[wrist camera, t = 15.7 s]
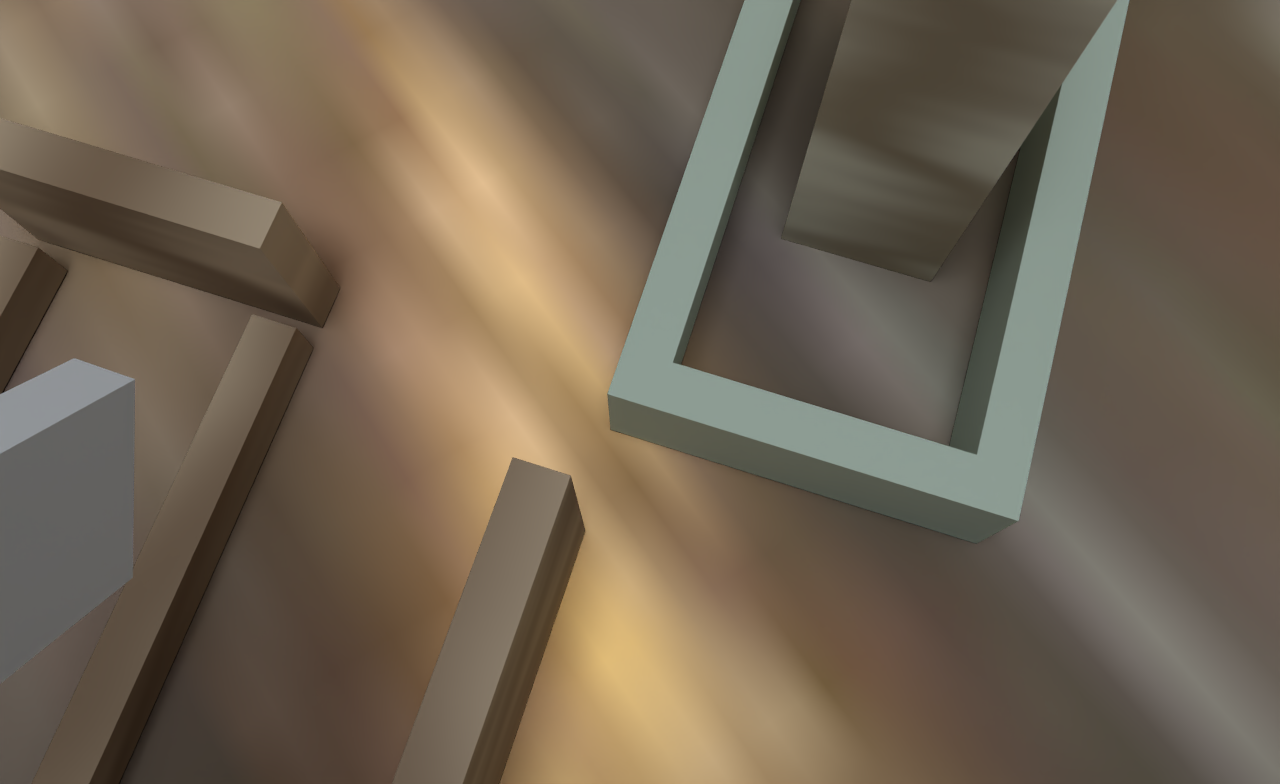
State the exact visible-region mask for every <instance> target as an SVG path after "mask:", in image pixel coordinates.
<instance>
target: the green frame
mask: <svg viewBox="0 0 1280 784" xmlns="http://www.w3.org/2000/svg"><path fill="white" fill-rule="evenodd" d="M800 1H801V0H745V1H744V4H743V7H742V10H741V12H740V15H739V18H738V21H737V24H736V27H735V30H734V32H733V35H732V38H731V41H730V44H729V47H728V50H727V53H726V55H725V58H724V61H723V64H722V67H721V70H720V73H719V76H718V78H717V81H716V84H715V87H714V90H713V93H712V96H711V98H710V101H709V104H708V107H707V110H706V113H705V116H704V119H703V121H702V124H701V127H700V130H699V133H698V136H697V139H696V142H695V144H694V147H693V150H692V153H691V156H690V159H689V162H688V164H687V167H686V170H685V173H684V176H683V179H682V182H681V185H680V187H679V190H678V193H677V196H676V199H675V202H674V205H673V207H672V210H671V213H670V216H669V219H668V222H667V225H666V228H665V230H664V233H663V236H662V239H661V242H660V245H659V248H658V251H657V253H656V256H655V259H654V262H653V265H652V268H651V271H650V273H649V276H648V279H647V282H646V285H645V288H644V291H643V294H642V296H641V299H640V302H639V305H638V308H637V311H636V314H635V316H634V319H633V322H632V325H631V328H630V331H629V334H628V337H627V339H626V342H625V345H624V348H623V351H622V354H621V357H620V360H619V362H618V365H617V368H616V371H615V374H614V377H613V380H612V382H611V385H610V388H609V391H608V394H607V395H608V406H609V417H610V428H611V430H614V431H617V432H620V433H623V434H626V435H630V436H633V437H636V438H639V439H642V440H646V441H649V442H652V443H655V444H658V445H662V446H665V447H668V448H671V449H674V450H678V451H681V452H684V453H687V454H690V455H694V456H697V457H700V458H703V459H707V460H710V461H713V462H716V463H719V464H723V465H726V466H729V467H732V468H735V469H739V470H742V471H745V472H748V473H751V474H755V475H758V476H761V477H764V478H767V479H771V480H774V481H777V482H780V483H783V484H787V485H790V486H793V487H796V488H799V489H803V490H806V491H809V492H812V493H816V494H819V495H822V496H825V497H828V498H832V499H835V500H838V501H841V502H844V503H848V504H851V505H854V506H857V507H860V508H864V509H867V510H870V511H873V512H876V513H880V514H883V515H886V516H889V517H892V518H896V519H899V520H902V521H905V522H908V523H912V524H915V525H918V526H921V527H925V528H928V529H931V530H934V531H937V532H941V533H944V534H947V535H950V536H953V537H957V538H960V539H963V540H966V541H969V542H973V543H976V544H977V543H979V542H981V541H982V540H984V539H986V538H988V537H990V536H992V535H994V534H995V533H997V532H999V531H1001V530H1003V529H1005V528H1007V527H1008V526H1010V525H1012V524H1014V523H1016V522H1018V521H1019V517H1020V512H1021V507H1022V503H1023V498H1024V493H1025V488H1026V484H1027V479H1028V474H1029V470H1030V465H1031V460H1032V455H1033V451H1034V446H1035V441H1036V437H1037V432H1038V427H1039V423H1040V418H1041V413H1042V408H1043V404H1044V399H1045V394H1046V390H1047V385H1048V380H1049V376H1050V371H1051V366H1052V361H1053V357H1054V352H1055V347H1056V343H1057V338H1058V333H1059V328H1060V324H1061V319H1062V314H1063V310H1064V305H1065V300H1066V296H1067V291H1068V286H1069V281H1070V277H1071V272H1072V267H1073V263H1074V258H1075V253H1076V249H1077V244H1078V239H1079V234H1080V230H1081V225H1082V220H1083V216H1084V211H1085V206H1086V201H1087V197H1088V192H1089V187H1090V183H1091V178H1092V173H1093V169H1094V164H1095V159H1096V154H1097V150H1098V145H1099V140H1100V136H1101V131H1102V126H1103V122H1104V117H1105V112H1106V107H1107V103H1108V98H1109V93H1110V89H1111V84H1112V79H1113V74H1114V70H1115V65H1116V60H1117V56H1118V51H1119V46H1120V42H1121V37H1122V32H1123V27H1124V23H1125V18H1126V13H1127V9H1128V4H1129V0H1117V1H1116V3H1115V4H1114V6H1113V7H1112V9H1111V10H1110V12H1109V13H1108V15H1107V16H1106V18H1105V19H1104V21H1103V22H1102V24H1101V26H1100V27H1099V29H1098V30H1097V32H1096V33H1095V35H1094V36H1093V38H1092V39H1091V41H1090V42H1089V44H1088V45H1087V47H1086V48H1085V50H1084V51H1083V53H1082V54H1081V56H1080V57H1079V59H1078V60H1077V62H1076V63H1075V65H1074V66H1073V68H1072V69H1071V71H1070V72H1069V74H1068V75H1067V77H1066V78H1065V80H1064V81H1063V83H1062V84H1061V86H1060V87H1059V89H1058V90H1057V92H1056V93H1055V95H1054V96H1053V98H1052V99H1051V101H1050V103H1049V104H1048V106H1047V107H1046V109H1045V110H1044V112H1043V113H1042V115H1041V116H1040V118H1039V119H1038V121H1037V122H1036V124H1035V125H1034V127H1033V128H1032V130H1031V131H1030V133H1029V134H1028V136H1027V137H1026V139H1025V140H1024V142H1023V143H1022V145H1021V147H1020V151H1019V156H1018V160H1017V164H1016V168H1015V172H1014V177H1013V181H1012V185H1011V189H1010V193H1009V198H1008V202H1007V206H1006V210H1005V214H1004V219H1003V223H1002V227H1001V231H1000V235H999V239H998V244H997V248H996V252H995V256H994V260H993V265H992V269H991V273H990V277H989V281H988V286H987V290H986V294H985V298H984V302H983V307H982V311H981V315H980V319H979V323H978V327H977V332H976V336H975V340H974V344H973V348H972V353H971V357H970V361H969V365H968V369H967V374H966V378H965V382H964V386H963V390H962V394H961V399H960V403H959V407H958V411H957V415H956V420H955V424H954V428H953V432H952V436H951V441H950V445H949V446H946V445H943V444H939V443H936V442H933V441H930V440H926V439H923V438H920V437H916V436H913V435H910V434H907V433H903V432H900V431H897V430H893V429H890V428H887V427H884V426H880V425H877V424H874V423H870V422H867V421H864V420H860V419H857V418H854V417H851V416H847V415H844V414H841V413H837V412H834V411H831V410H828V409H824V408H821V407H818V406H814V405H811V404H808V403H805V402H801V401H798V400H795V399H791V398H788V397H785V396H782V395H778V394H775V393H772V392H768V391H765V390H762V389H759V388H755V387H752V386H749V385H745V384H742V383H739V382H735V381H732V380H729V379H726V378H722V377H719V376H716V375H712V374H709V373H706V372H703V371H699V370H696V369H693V368H689V367H686V366H683V365H681V363H682V360H683V357H684V354H685V351H686V348H687V345H688V342H689V339H690V336H691V333H692V329H693V326H694V323H695V320H696V317H697V314H698V311H699V308H700V305H701V302H702V299H703V296H704V293H705V290H706V287H707V284H708V281H709V278H710V275H711V272H712V269H713V266H714V263H715V260H716V256H717V253H718V250H719V247H720V244H721V241H722V238H723V235H724V232H725V229H726V226H727V223H728V220H729V217H730V214H731V211H732V208H733V205H734V202H735V199H736V196H737V193H738V190H739V187H740V183H741V180H742V177H743V174H744V171H745V168H746V165H747V162H748V159H749V156H750V153H751V150H752V147H753V144H754V141H755V138H756V135H757V132H758V129H759V126H760V123H761V120H762V117H763V114H764V110H765V107H766V104H767V101H768V98H769V95H770V92H771V89H772V86H773V83H774V80H775V77H776V74H777V71H778V68H779V65H780V62H781V59H782V56H783V53H784V50H785V47H786V44H787V41H788V37H789V34H790V31H791V28H792V25H793V22H794V19H795V16H796V13H797V10H798V7H799V4H800Z"/></svg>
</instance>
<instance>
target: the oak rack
mask: <svg viewBox="0 0 1280 784" xmlns="http://www.w3.org/2000/svg"><path fill="white" fill-rule="evenodd" d="M0 209H1V210H3V211H4V212H5V213H6V214H8V215H9V216H10V217H11V218H12V219H14V220H15V221H16V222H17V223H19V224H20V225H21V226H22V227H23V228H25V229H26V230H27V231H28V232H30V233H31V234H32V235H33V236H35V237H36V238H37V239H39V240H42V241H45V242H48V243H51V244H55V245H58V246H61V247H64V248H67V249H71V250H74V251H77V252H80V253H84V254H87V255H90V256H93V257H96V258H100V259H103V260H106V261H109V262H113V263H116V264H119V265H122V266H125V267H129V268H132V269H135V270H138V271H141V272H145V273H148V274H151V275H154V276H158V277H161V278H164V279H167V280H170V281H174V282H177V283H180V284H183V285H187V286H190V287H193V288H196V289H199V290H203V291H206V292H209V293H212V294H215V295H219V296H222V297H225V298H228V299H232V300H235V301H238V302H241V303H244V304H248V305H251V306H254V307H257V308H261V309H264V310H267V311H270V312H273V313H277V314H280V315H283V316H286V317H289V318H293V319H296V320H299V321H302V322H306V323H309V324H312V325H315V326H318V327H323V325H324V323H325V320H326V318H327V316H328V314H329V312H330V309H331V307H332V305H333V303H334V300H335V298H336V296H337V294H338V291H339V289H340V287H339V286H338V284H337V283H336V282H335V280H334V279H333V277H332V276H331V274H330V273H329V271H328V270H327V268H326V267H325V265H324V264H323V262H322V261H321V259H320V258H319V256H318V255H317V254H316V252H315V251H314V249H313V248H312V246H311V245H310V243H309V242H308V240H307V239H306V237H305V236H304V234H303V233H302V231H301V230H300V228H299V227H298V225H297V224H296V223H295V221H294V220H293V218H292V217H291V215H290V214H289V212H288V211H287V209H286V208H285V206H284V205H283V203H282V202H279V201H275V200H272V199H269V198H265V197H262V196H259V195H255V194H252V193H249V192H245V191H242V190H239V189H235V188H232V187H229V186H225V185H222V184H219V183H215V182H212V181H209V180H205V179H202V178H199V177H195V176H192V175H189V174H185V173H182V172H179V171H175V170H172V169H169V168H165V167H162V166H159V165H155V164H152V163H149V162H145V161H142V160H139V159H135V158H132V157H129V156H125V155H122V154H119V153H115V152H112V151H109V150H105V149H102V148H99V147H95V146H92V145H89V144H85V143H82V142H79V141H75V140H72V139H69V138H65V137H62V136H59V135H55V134H52V133H49V132H45V131H42V130H39V129H35V128H32V127H29V126H25V125H22V124H19V123H15V122H12V121H9V120H5V119H2V118H0ZM66 273H67V270H66V269H64V268H63V267H62V266H61V265H59V264H58V263H57V262H56V261H54V260H53V259H52V258H51V257H49V256H48V255H47V254H46V253H44V252H43V251H42V250H41V249H39V248H38V247H35V246H32V245H28V244H25V243H22V242H19V241H16V240H12V239H9V238H6V237H3V236H0V394H2V392H3V390H4V388H5V386H6V384H7V383H8V381H9V379H10V377H11V375H12V373H13V371H14V370H15V368H16V366H17V364H18V362H19V360H20V358H21V356H22V355H23V353H24V351H25V349H26V347H27V345H28V343H29V342H30V340H31V338H32V336H33V334H34V332H35V330H36V329H37V327H38V325H39V323H40V321H41V319H42V317H43V315H44V314H45V312H46V310H47V308H48V306H49V304H50V302H51V301H52V299H53V297H54V295H55V293H56V291H57V289H58V288H59V286H60V284H61V282H62V280H63V278H64V276H65V274H66ZM312 350H313V347H312V346H311V345H310V343H309V342H308V341H307V340H306V339H305V338H304V336H303V335H302V334H301V333H300V332H299V331H298V329H297V328H295V327H292V326H288V325H285V324H282V323H279V322H276V321H272V320H269V319H266V318H263V317H259V316H256V315H253V314H252V316H251V318H250V320H249V322H248V325H247V327H246V329H245V331H244V333H243V335H242V337H241V339H240V342H239V344H238V346H237V348H236V350H235V352H234V354H233V356H232V359H231V361H230V363H229V365H228V367H227V369H226V371H225V373H224V376H223V378H222V380H221V382H220V384H219V386H218V388H217V390H216V393H215V395H214V397H213V399H212V401H211V403H210V405H209V407H208V410H207V412H206V414H205V416H204V418H203V420H202V422H201V424H200V427H199V429H198V431H197V433H196V435H195V437H194V439H193V441H192V444H191V446H190V448H189V450H188V452H187V454H186V456H185V458H184V461H183V463H182V465H181V467H180V469H179V471H178V473H177V475H176V478H175V480H174V482H173V484H172V486H171V488H170V490H169V492H168V495H167V497H166V499H165V501H164V503H163V505H162V507H161V509H160V512H159V514H158V516H157V518H156V520H155V522H154V524H153V526H152V529H151V531H150V533H149V535H148V537H147V539H146V541H145V543H144V546H143V548H142V550H141V552H140V554H139V556H138V558H137V560H136V563H135V565H134V567H133V578H132V579H130V580H129V581H128V582H127V583H126V584H125V586H124V588H123V590H122V592H121V594H120V597H119V599H118V601H117V603H116V605H115V607H114V609H113V611H112V614H111V616H110V618H109V620H108V622H107V624H106V626H105V628H104V631H103V633H102V635H101V637H100V639H99V641H98V643H97V645H96V648H95V650H94V652H93V654H92V656H91V658H90V660H89V662H88V665H87V667H86V669H85V671H84V673H83V675H82V677H81V679H80V682H79V684H78V686H77V688H76V690H75V692H74V694H73V696H72V699H71V701H70V703H69V705H68V707H67V709H66V711H65V713H64V716H63V718H62V720H61V722H60V724H59V726H58V728H57V730H56V733H55V735H54V737H53V739H52V741H51V743H50V745H49V747H48V750H47V752H46V754H45V756H44V758H43V760H42V762H41V764H40V767H39V769H38V771H37V773H36V775H35V777H34V779H33V781H32V784H119V782H120V780H121V778H122V775H123V773H124V771H125V769H126V766H127V764H128V762H129V760H130V757H131V755H132V753H133V751H134V748H135V746H136V744H137V742H138V739H139V737H140V735H141V733H142V731H143V728H144V726H145V724H146V722H147V719H148V717H149V715H150V713H151V710H152V708H153V706H154V704H155V701H156V699H157V697H158V695H159V692H160V690H161V688H162V686H163V683H164V681H165V679H166V677H167V674H168V672H169V670H170V668H171V666H172V663H173V661H174V659H175V657H176V654H177V652H178V650H179V648H180V645H181V643H182V641H183V639H184V636H185V634H186V632H187V630H188V627H189V625H190V623H191V621H192V618H193V616H194V614H195V612H196V610H197V607H198V605H199V603H200V601H201V598H202V596H203V594H204V592H205V589H206V587H207V585H208V583H209V580H210V578H211V576H212V574H213V571H214V569H215V567H216V565H217V562H218V560H219V558H220V556H221V554H222V551H223V549H224V547H225V545H226V542H227V540H228V538H229V536H230V533H231V531H232V529H233V527H234V524H235V522H236V520H237V518H238V515H239V513H240V511H241V509H242V506H243V504H244V502H245V500H246V497H247V495H248V493H249V491H250V489H251V486H252V484H253V482H254V480H255V477H256V475H257V473H258V471H259V468H260V466H261V464H262V462H263V459H264V457H265V455H266V453H267V450H268V448H269V446H270V444H271V441H272V439H273V437H274V435H275V433H276V430H277V428H278V426H279V424H280V421H281V419H282V417H283V415H284V412H285V410H286V408H287V406H288V403H289V401H290V399H291V397H292V394H293V392H294V390H295V388H296V385H297V383H298V381H299V379H300V376H301V374H302V372H303V370H304V368H305V365H306V363H307V361H308V359H309V356H310V354H311V352H312ZM584 533H585V528H584V524H583V520H582V516H581V513H580V509H579V505H578V501H577V497H576V494H575V490H574V486H573V482H572V479H571V476H570V475H567V474H564V473H561V472H558V471H554V470H551V469H548V468H545V467H542V466H539V465H536V464H532V463H529V462H526V461H523V460H520V459H517V458H512V461H511V463H510V466H509V469H508V472H507V474H506V477H505V480H504V482H503V485H502V488H501V490H500V493H499V496H498V499H497V501H496V504H495V507H494V509H493V512H492V515H491V517H490V520H489V523H488V526H487V528H486V531H485V534H484V536H483V539H482V542H481V544H480V547H479V550H478V552H477V555H476V558H475V561H474V563H473V566H472V569H471V571H470V574H469V577H468V579H467V582H466V585H465V588H464V590H463V593H462V596H461V598H460V601H459V604H458V606H457V609H456V612H455V615H454V617H453V620H452V623H451V625H450V628H449V631H448V633H447V636H446V639H445V642H444V644H443V647H442V650H441V652H440V655H439V658H438V660H437V663H436V666H435V668H434V671H433V674H432V677H431V679H430V682H429V685H428V687H427V690H426V693H425V695H424V698H423V701H422V704H421V706H420V709H419V712H418V714H417V717H416V720H415V722H414V725H413V728H412V731H411V733H410V736H409V739H408V741H407V744H406V747H405V749H404V752H403V755H402V757H401V760H400V763H399V766H398V768H397V771H396V774H395V776H394V779H393V782H392V784H499V783H500V780H501V777H502V774H503V771H504V768H505V765H506V762H507V759H508V756H509V753H510V750H511V747H512V745H513V742H514V739H515V736H516V733H517V730H518V727H519V724H520V721H521V718H522V715H523V712H524V709H525V706H526V703H527V701H528V698H529V695H530V692H531V689H532V686H533V683H534V680H535V677H536V674H537V671H538V668H539V665H540V662H541V660H542V657H543V654H544V651H545V648H546V645H547V642H548V639H549V636H550V633H551V630H552V627H553V624H554V621H555V618H556V616H557V613H558V610H559V607H560V604H561V601H562V598H563V595H564V592H565V589H566V586H567V583H568V580H569V577H570V574H571V572H572V569H573V566H574V563H575V560H576V557H577V554H578V551H579V548H580V545H581V542H582V539H583V536H584Z"/></svg>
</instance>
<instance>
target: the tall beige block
mask: <svg viewBox="0 0 1280 784" xmlns="http://www.w3.org/2000/svg"><path fill="white" fill-rule="evenodd" d="M1116 1H1117V0H851V4H850V7H849V10H848V14H847V17H846V21H845V24H844V27H843V31H842V34H841V37H840V41H839V44H838V48H837V51H836V54H835V58H834V61H833V65H832V68H831V71H830V75H829V78H828V81H827V85H826V88H825V92H824V95H823V98H822V102H821V105H820V108H819V112H818V115H817V119H816V122H815V125H814V129H813V132H812V135H811V139H810V142H809V146H808V149H807V152H806V156H805V159H804V162H803V166H802V169H801V173H800V176H799V179H798V183H797V186H796V190H795V193H794V196H793V200H792V203H791V206H790V210H789V213H788V217H787V220H786V223H785V227H784V230H783V233H782V237H781V239H784V240H787V241H791V242H794V243H798V244H801V245H805V246H808V247H812V248H815V249H819V250H822V251H825V252H829V253H832V254H836V255H839V256H843V257H846V258H850V259H853V260H857V261H860V262H863V263H867V264H870V265H874V266H877V267H881V268H884V269H888V270H891V271H895V272H898V273H902V274H905V275H908V276H912V277H915V278H919V279H922V280H926V281H929V282H931V281H932V279H933V278H934V276H935V275H936V273H937V272H938V270H939V269H940V267H941V266H942V264H943V263H944V261H945V260H946V258H947V257H948V255H949V254H950V252H951V251H952V249H953V247H954V246H955V244H956V243H957V241H958V240H959V238H960V237H961V235H962V234H963V232H964V231H965V229H966V228H967V226H968V225H969V223H970V222H971V220H972V219H973V217H974V216H975V214H976V213H977V211H978V210H979V208H980V207H981V205H982V204H983V202H984V201H985V199H986V198H987V196H988V195H989V193H990V192H991V190H992V189H993V187H994V186H995V184H996V183H997V181H998V180H999V178H1000V177H1001V175H1002V173H1003V172H1004V170H1005V169H1006V167H1007V166H1008V164H1009V163H1010V161H1011V160H1012V158H1013V157H1014V155H1015V154H1016V152H1017V151H1018V149H1019V148H1020V146H1021V145H1022V143H1023V142H1024V140H1025V139H1026V137H1027V136H1028V134H1029V133H1030V131H1031V130H1032V128H1033V127H1034V125H1035V124H1036V122H1037V121H1038V119H1039V118H1040V116H1041V115H1042V113H1043V112H1044V110H1045V109H1046V107H1047V106H1048V104H1049V103H1050V101H1051V99H1052V98H1053V96H1054V95H1055V93H1056V92H1057V90H1058V89H1059V87H1060V86H1061V84H1062V83H1063V81H1064V80H1065V78H1066V77H1067V75H1068V74H1069V72H1070V71H1071V69H1072V68H1073V66H1074V65H1075V63H1076V62H1077V60H1078V59H1079V57H1080V56H1081V54H1082V53H1083V51H1084V50H1085V48H1086V47H1087V45H1088V44H1089V42H1090V41H1091V39H1092V38H1093V36H1094V35H1095V33H1096V32H1097V30H1098V29H1099V27H1100V26H1101V24H1102V22H1103V21H1104V19H1105V18H1106V16H1107V15H1108V13H1109V12H1110V10H1111V9H1112V7H1113V6H1114V4H1115V3H1116Z"/></svg>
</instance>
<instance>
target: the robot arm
mask: <svg viewBox="0 0 1280 784" xmlns="http://www.w3.org/2000/svg"><path fill="white" fill-rule="evenodd" d="M134 429H135V379H133V378H130V377H127V376H124V375H121V374H118V373H116V372H113V371H110V370H107V369H104V368H101V367H98V366H95V365H93V364H90V363H87V362H84V361H81V360H78V359H75V358H74V359H72V360H69V361H67V362H65V363H63V364H61V365H59V366H57V367H55V368H53V369H51V370H49V371H47V372H45V373H43V374H41V375H39V376H37V377H35V378H33V379H31V380H29V381H26V382H24V383H22V384H20V385H18V386H16V387H14V388H12V389H10V390H8V391H6V392H4V393H2V394H0V684H1V683H2V682H3V681H4V680H6V679H7V678H8V677H9V676H11V675H12V674H13V673H14V672H16V671H17V670H18V669H19V668H21V667H22V666H23V665H24V664H26V663H27V662H28V661H29V660H31V659H32V658H33V657H34V656H36V655H37V654H38V653H39V652H41V651H42V650H43V649H44V648H46V647H47V646H48V645H49V644H51V643H52V642H53V641H54V640H56V639H57V638H58V637H59V636H61V635H62V634H63V633H64V632H66V631H67V630H68V629H69V628H71V627H72V626H73V625H74V624H76V623H77V622H78V621H79V620H81V619H82V618H83V617H84V616H86V615H87V614H88V613H89V612H90V611H92V610H93V609H94V608H95V607H97V606H98V605H99V604H100V603H102V602H103V601H104V600H105V599H107V598H108V597H109V596H110V595H112V594H113V593H114V592H115V591H117V590H118V589H119V588H120V587H122V586H123V585H124V584H125V583H127V582H128V581H129V580H130V579H132V578H133V518H134Z"/></svg>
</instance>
